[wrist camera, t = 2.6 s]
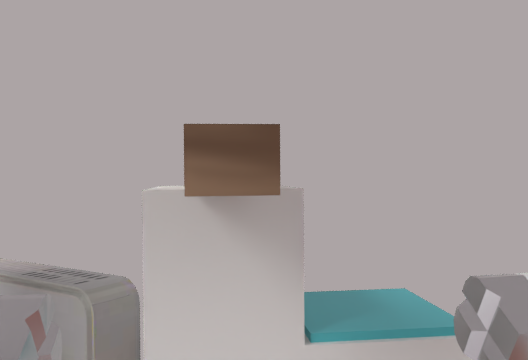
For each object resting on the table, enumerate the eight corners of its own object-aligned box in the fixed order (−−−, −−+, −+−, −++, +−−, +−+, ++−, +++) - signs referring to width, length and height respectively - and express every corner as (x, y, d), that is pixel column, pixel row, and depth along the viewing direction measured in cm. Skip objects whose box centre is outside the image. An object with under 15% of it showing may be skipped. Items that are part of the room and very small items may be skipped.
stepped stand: (483, 575, 33) (481, 186, 32) (146, 613, 30) (142, 190, 30) (408, 468, 44) (407, 183, 44) (163, 489, 42) (160, 186, 42)
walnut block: (280, 195, 21) (279, 124, 21) (184, 196, 20) (183, 124, 20) (238, 184, 46) (238, 153, 46) (196, 185, 46) (196, 153, 46)
